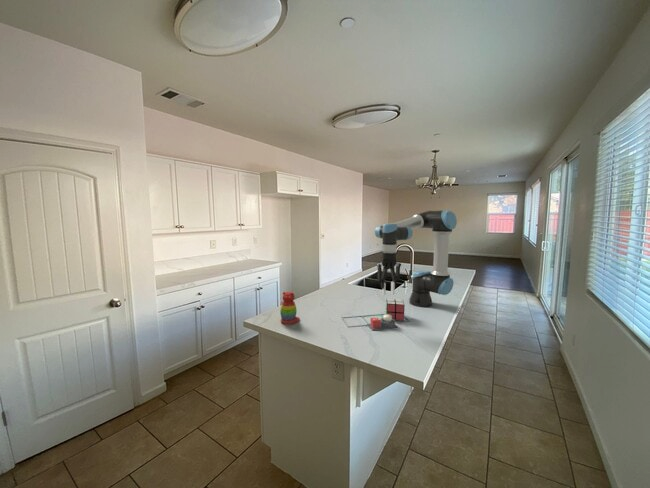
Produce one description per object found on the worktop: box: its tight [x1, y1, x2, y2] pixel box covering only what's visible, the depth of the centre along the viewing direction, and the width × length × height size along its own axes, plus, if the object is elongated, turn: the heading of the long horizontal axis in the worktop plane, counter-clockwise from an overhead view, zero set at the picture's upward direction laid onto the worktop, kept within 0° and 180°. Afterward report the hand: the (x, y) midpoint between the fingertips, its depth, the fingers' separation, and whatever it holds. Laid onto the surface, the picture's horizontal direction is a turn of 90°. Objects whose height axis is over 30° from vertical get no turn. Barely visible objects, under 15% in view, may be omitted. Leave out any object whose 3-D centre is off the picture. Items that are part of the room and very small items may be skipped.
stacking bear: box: [279, 291, 301, 326], centre depth 155 cm, size 11×10×18 cm
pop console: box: [366, 316, 399, 331], centre depth 148 cm, size 15×8×5 cm, turn 102°
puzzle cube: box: [385, 298, 406, 322], centre depth 160 cm, size 10×10×10 cm
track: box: [341, 313, 411, 328], centre depth 158 cm, size 38×14×1 cm, turn 102°
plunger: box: [382, 313, 392, 322], centre depth 148 cm, size 5×5×3 cm
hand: (388, 293), depth 147 cm, fingers open, 4 cm apart
